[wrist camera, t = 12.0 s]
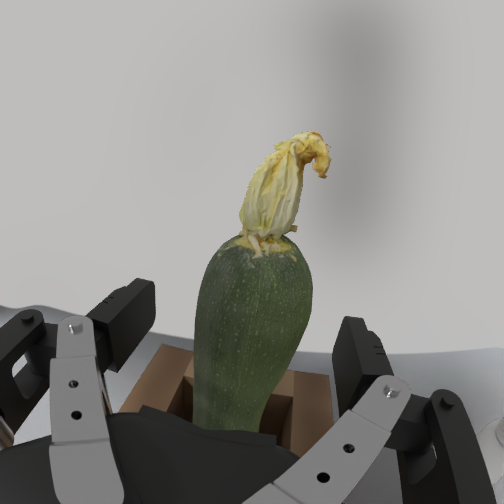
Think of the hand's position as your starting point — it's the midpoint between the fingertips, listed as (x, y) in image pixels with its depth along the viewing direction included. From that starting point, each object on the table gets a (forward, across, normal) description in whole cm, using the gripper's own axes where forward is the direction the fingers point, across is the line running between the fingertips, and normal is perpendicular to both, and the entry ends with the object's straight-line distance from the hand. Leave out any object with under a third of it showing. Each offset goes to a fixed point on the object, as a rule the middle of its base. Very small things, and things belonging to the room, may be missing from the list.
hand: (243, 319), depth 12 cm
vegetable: (-1, 0, +13) cm, 13 cm away
